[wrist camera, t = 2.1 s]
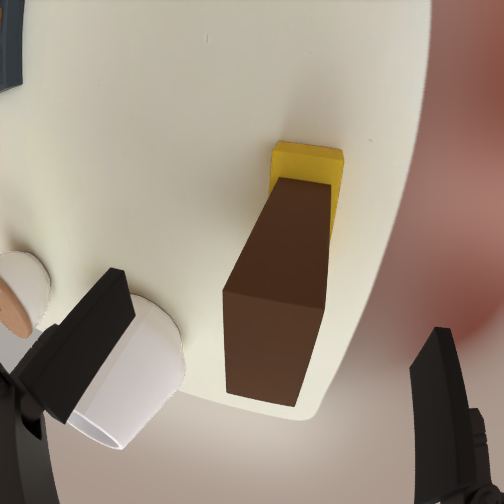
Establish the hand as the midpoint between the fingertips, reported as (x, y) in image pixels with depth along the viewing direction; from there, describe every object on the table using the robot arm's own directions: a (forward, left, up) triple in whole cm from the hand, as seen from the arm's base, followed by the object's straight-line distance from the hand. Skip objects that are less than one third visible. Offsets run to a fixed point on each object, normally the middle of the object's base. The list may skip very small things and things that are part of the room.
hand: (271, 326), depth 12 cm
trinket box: (+30, -18, -11) cm, 37 cm away
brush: (0, 0, -11) cm, 11 cm away
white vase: (+22, -2, -11) cm, 25 cm away
